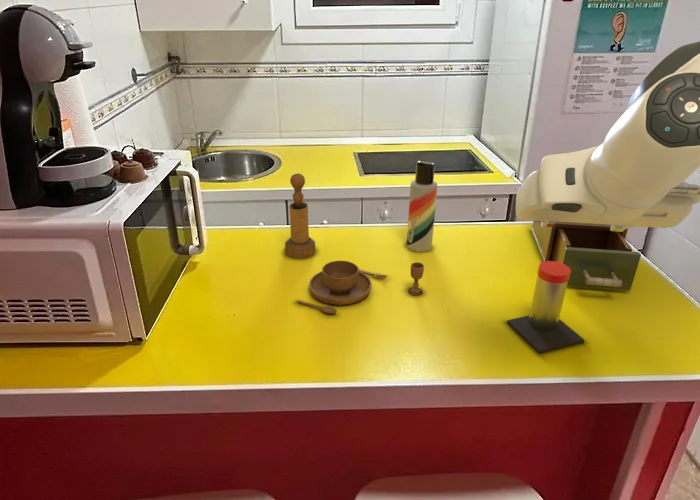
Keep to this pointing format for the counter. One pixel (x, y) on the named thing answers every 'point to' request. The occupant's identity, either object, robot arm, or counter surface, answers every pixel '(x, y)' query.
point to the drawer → (595, 258)
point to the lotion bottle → (422, 208)
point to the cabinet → (546, 234)
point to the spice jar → (548, 295)
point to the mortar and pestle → (299, 223)
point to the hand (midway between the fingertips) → (580, 224)
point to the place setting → (349, 284)
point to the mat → (545, 335)
